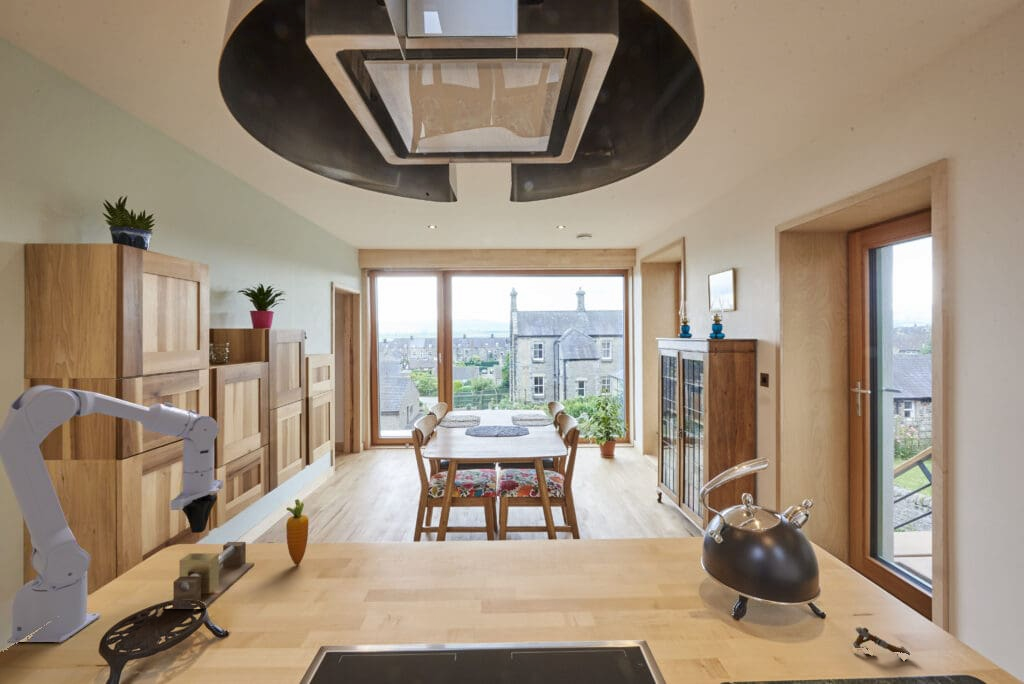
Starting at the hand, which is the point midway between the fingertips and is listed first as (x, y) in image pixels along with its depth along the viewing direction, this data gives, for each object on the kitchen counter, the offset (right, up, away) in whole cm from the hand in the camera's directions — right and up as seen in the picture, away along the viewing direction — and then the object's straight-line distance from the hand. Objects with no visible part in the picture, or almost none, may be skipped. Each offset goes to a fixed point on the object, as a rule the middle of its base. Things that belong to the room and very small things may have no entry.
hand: (198, 531), depth 102 cm
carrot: (+19, -11, +6) cm, 23 cm away
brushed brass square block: (+5, -9, -7) cm, 13 cm away
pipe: (+5, -7, -3) cm, 9 cm away
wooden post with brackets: (+131, -11, -25) cm, 133 cm away
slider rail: (+5, -10, -3) cm, 12 cm away
